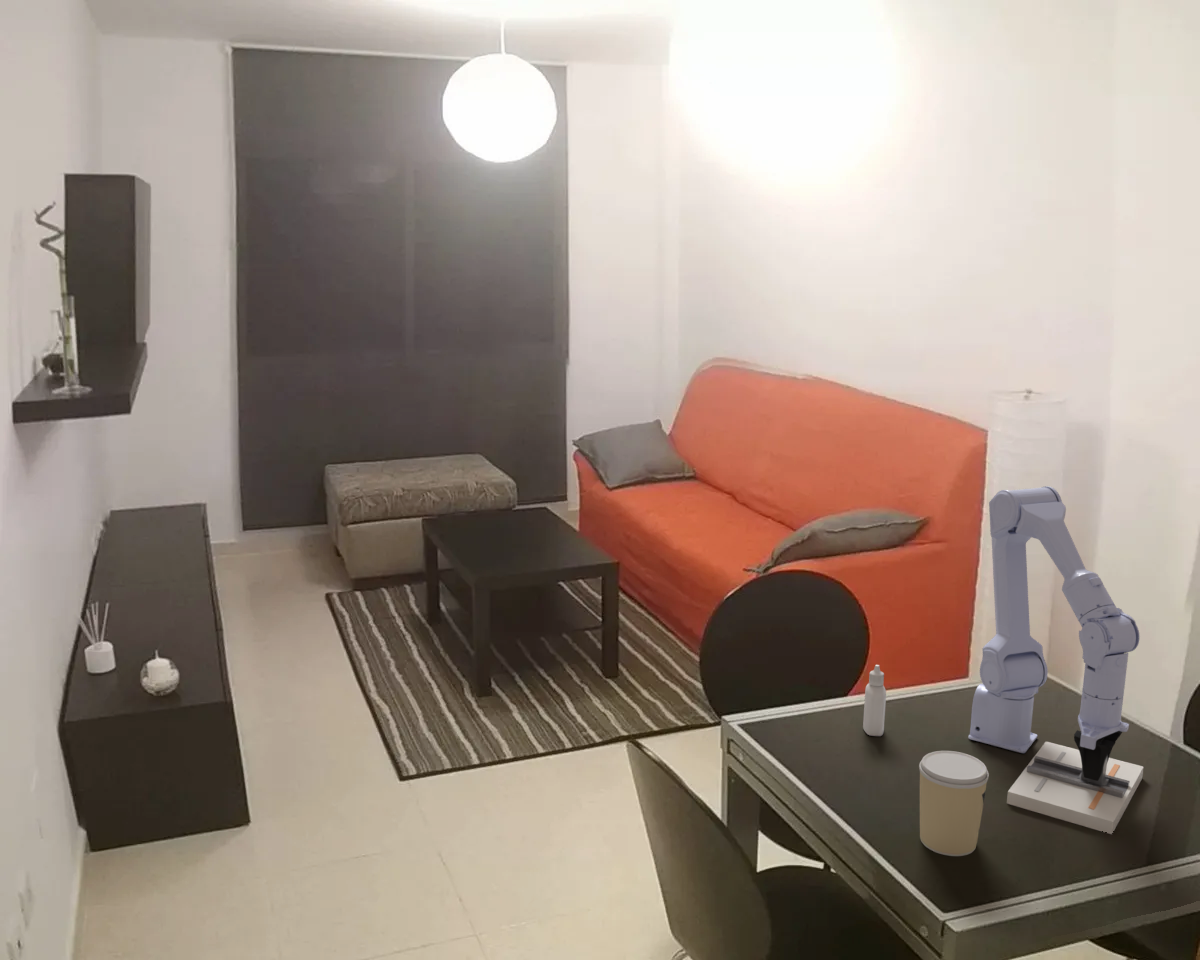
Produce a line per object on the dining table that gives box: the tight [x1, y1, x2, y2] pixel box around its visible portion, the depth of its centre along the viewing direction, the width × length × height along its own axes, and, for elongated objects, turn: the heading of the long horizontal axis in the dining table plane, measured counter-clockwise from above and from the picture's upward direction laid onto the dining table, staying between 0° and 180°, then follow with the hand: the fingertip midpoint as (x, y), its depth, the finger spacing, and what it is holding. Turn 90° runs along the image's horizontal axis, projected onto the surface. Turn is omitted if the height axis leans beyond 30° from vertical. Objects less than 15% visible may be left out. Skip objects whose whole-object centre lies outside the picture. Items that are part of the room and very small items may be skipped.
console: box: [1006, 741, 1144, 835], centre depth 175 cm, size 15×21×3 cm
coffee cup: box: [918, 750, 990, 857], centre depth 159 cm, size 9×9×12 cm
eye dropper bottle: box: [862, 664, 887, 737], centre depth 194 cm, size 4×6×12 cm
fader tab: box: [1077, 755, 1109, 786], centre depth 173 cm, size 4×2×6 cm, turn 54°
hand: (1093, 774), depth 173 cm, fingers closed on fader tab, 2 cm apart
